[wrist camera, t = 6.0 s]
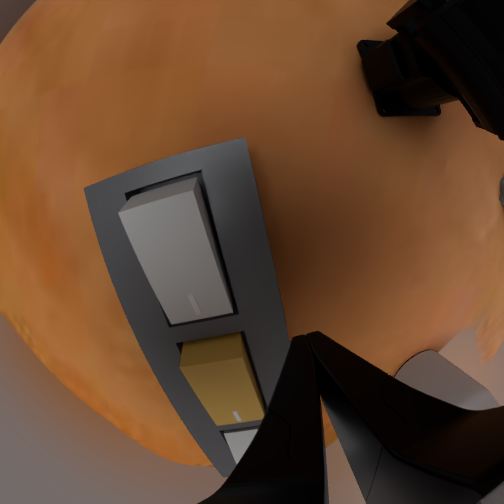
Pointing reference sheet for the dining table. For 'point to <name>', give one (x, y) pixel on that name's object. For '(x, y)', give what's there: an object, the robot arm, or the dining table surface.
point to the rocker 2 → (223, 378)
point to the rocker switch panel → (237, 269)
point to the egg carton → (502, 191)
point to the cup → (445, 382)
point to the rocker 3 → (240, 440)
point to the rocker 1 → (178, 251)
